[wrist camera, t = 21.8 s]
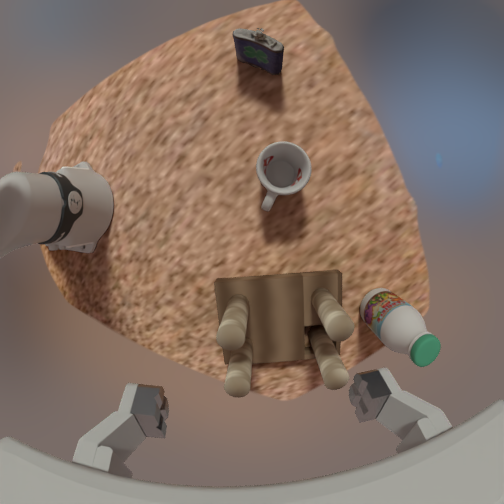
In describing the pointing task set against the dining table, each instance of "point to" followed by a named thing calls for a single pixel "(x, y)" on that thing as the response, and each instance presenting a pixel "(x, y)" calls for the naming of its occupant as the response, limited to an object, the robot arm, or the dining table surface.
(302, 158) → the cup
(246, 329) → the stool
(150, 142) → the dining table surface
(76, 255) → the dining table surface
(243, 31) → the flask
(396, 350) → the milk bottle
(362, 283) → the dining table surface
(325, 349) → the loose leg
